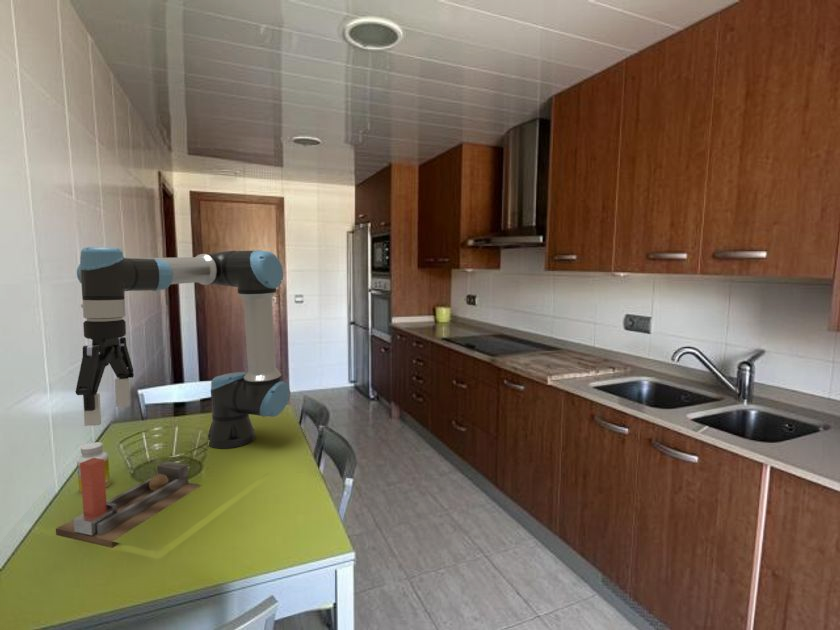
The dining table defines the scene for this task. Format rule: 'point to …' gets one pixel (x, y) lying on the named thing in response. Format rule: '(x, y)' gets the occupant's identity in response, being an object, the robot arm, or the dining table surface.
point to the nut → (158, 482)
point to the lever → (93, 497)
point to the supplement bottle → (93, 452)
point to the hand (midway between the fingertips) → (109, 415)
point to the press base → (136, 506)
